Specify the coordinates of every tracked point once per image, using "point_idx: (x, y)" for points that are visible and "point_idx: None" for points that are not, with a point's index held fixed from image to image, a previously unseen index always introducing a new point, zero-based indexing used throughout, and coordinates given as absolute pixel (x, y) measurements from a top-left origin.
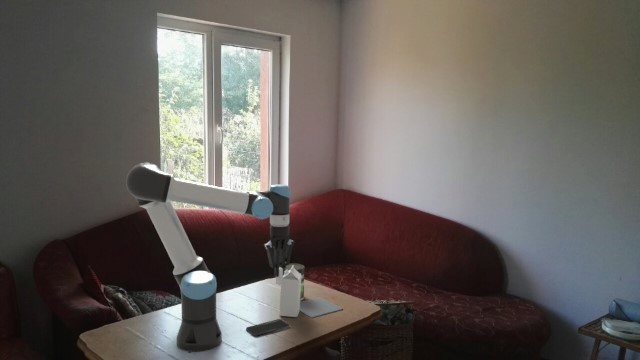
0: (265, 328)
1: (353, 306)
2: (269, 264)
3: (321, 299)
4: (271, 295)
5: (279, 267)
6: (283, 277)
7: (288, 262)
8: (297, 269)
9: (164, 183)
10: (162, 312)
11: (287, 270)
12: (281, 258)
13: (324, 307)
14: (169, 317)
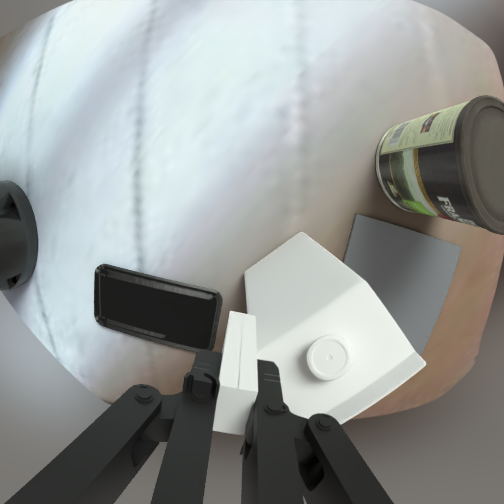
0: (140, 312)
1: (445, 356)
2: (121, 396)
3: (449, 266)
4: (375, 88)
5: (239, 407)
6: (276, 357)
7: (312, 471)
8: (492, 222)
9: None
10: (47, 19)
11: (329, 380)
12: (245, 498)
13: (402, 322)
14: (34, 54)
